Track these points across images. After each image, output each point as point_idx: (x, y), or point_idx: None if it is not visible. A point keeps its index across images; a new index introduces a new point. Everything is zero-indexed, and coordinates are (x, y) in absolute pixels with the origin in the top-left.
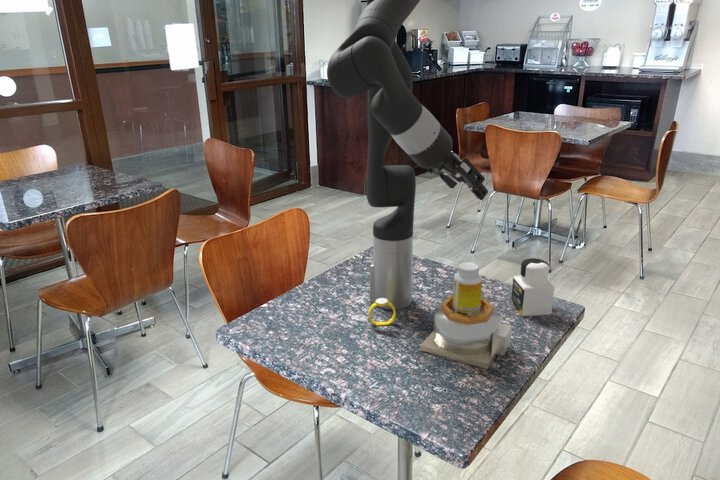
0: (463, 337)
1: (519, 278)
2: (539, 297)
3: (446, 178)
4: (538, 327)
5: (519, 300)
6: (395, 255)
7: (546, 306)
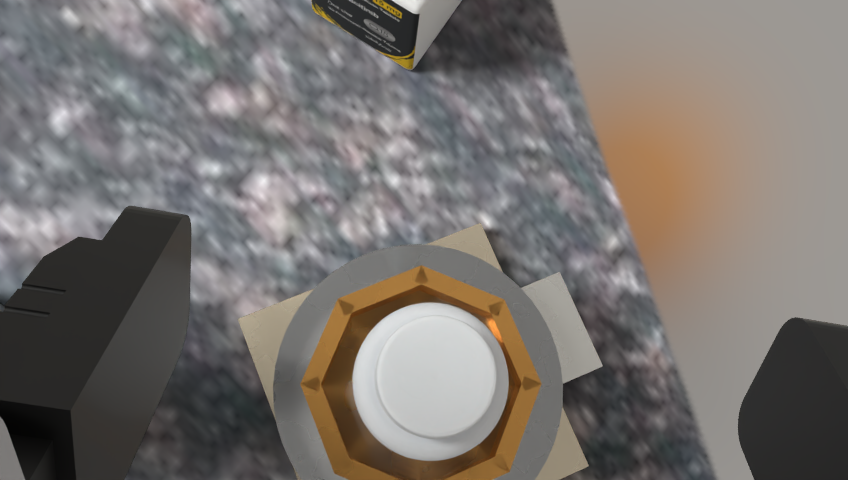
0: None
1: None
2: None
3: (113, 468)
4: (501, 92)
5: (386, 32)
6: None
7: None
